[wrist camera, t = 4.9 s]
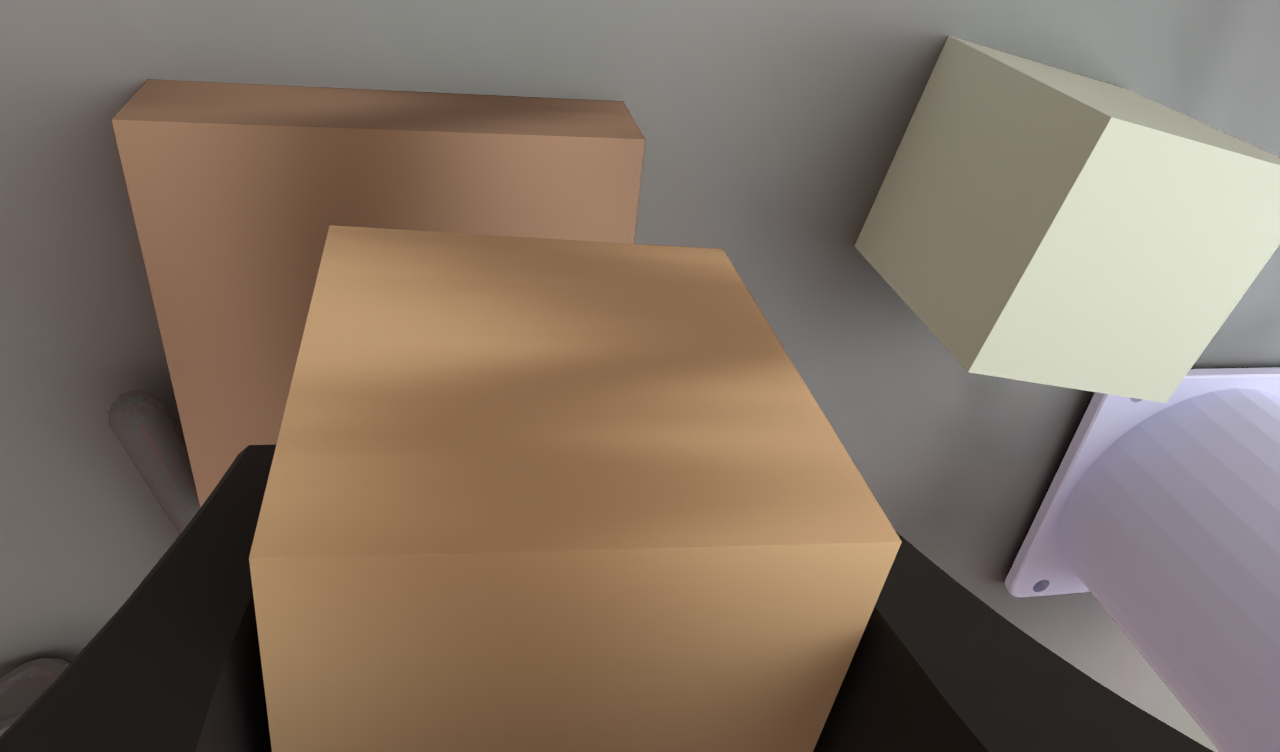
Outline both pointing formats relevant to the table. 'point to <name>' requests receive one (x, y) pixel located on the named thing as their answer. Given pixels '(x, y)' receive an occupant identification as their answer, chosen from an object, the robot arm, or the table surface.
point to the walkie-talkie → (172, 483)
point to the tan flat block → (333, 213)
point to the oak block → (553, 509)
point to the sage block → (1068, 225)
